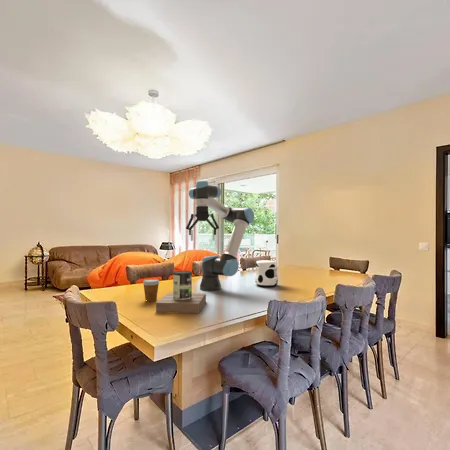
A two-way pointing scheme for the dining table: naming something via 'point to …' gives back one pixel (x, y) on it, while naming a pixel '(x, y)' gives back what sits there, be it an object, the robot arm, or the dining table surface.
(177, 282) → the coffee can
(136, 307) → the dining table surface
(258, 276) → the milk container
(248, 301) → the dining table surface
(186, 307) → the walnut plinth
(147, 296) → the disposable coffee cup
